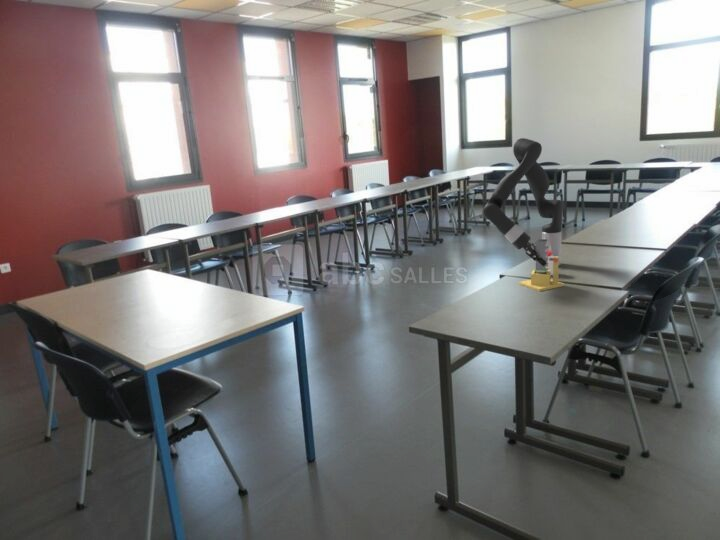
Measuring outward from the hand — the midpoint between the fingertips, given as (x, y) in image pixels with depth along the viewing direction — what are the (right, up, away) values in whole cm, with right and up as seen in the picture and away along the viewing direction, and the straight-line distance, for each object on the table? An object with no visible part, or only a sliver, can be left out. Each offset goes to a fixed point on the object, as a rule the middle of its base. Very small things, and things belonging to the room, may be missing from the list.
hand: (545, 263), depth 236 cm
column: (-1, -8, +3) cm, 9 cm away
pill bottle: (+7, -5, +20) cm, 22 cm away
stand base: (-1, -10, +3) cm, 10 cm away
